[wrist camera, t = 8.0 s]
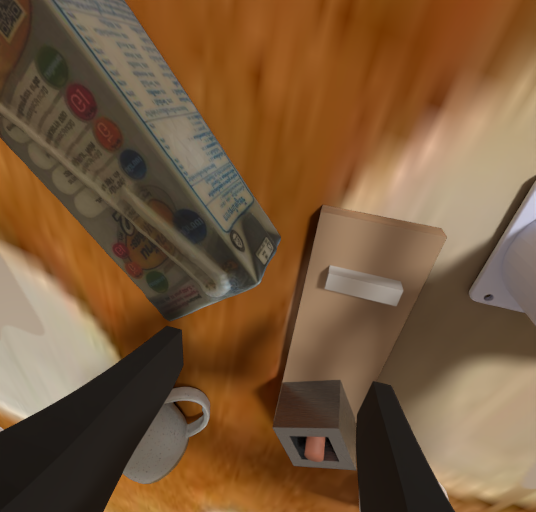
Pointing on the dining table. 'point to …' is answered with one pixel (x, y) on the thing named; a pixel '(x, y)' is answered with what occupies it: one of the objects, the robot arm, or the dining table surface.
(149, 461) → the ceramic mug
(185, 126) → the beverage carton
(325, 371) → the board
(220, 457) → the dining table surface
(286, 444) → the open square sleeve
